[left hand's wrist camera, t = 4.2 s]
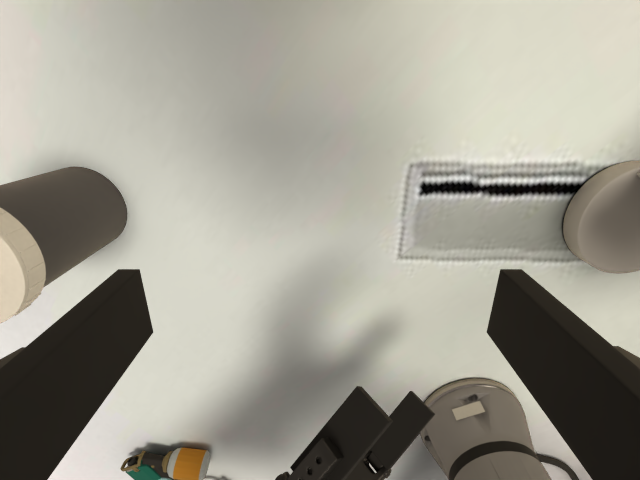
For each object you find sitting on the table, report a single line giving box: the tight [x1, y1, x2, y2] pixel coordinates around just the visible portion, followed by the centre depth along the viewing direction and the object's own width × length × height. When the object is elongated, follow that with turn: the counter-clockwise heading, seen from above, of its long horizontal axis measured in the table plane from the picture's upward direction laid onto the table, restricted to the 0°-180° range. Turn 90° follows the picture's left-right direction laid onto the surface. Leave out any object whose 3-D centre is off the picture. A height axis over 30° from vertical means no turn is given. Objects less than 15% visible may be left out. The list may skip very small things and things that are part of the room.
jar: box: [0, 167, 127, 287], centre depth 33 cm, size 10×10×16 cm
